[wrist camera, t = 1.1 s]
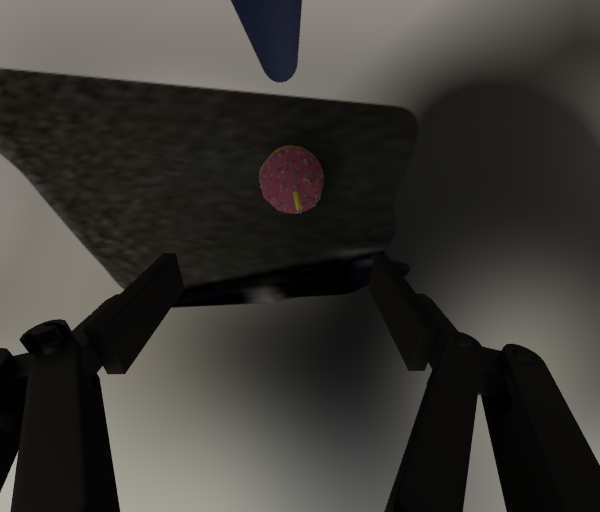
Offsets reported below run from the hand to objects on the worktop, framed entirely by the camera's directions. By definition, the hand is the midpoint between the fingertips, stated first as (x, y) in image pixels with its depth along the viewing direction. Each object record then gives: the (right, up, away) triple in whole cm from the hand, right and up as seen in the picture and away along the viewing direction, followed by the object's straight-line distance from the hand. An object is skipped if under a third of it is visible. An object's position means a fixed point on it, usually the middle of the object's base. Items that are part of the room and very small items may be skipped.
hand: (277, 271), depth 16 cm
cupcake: (0, +13, +19) cm, 23 cm away
